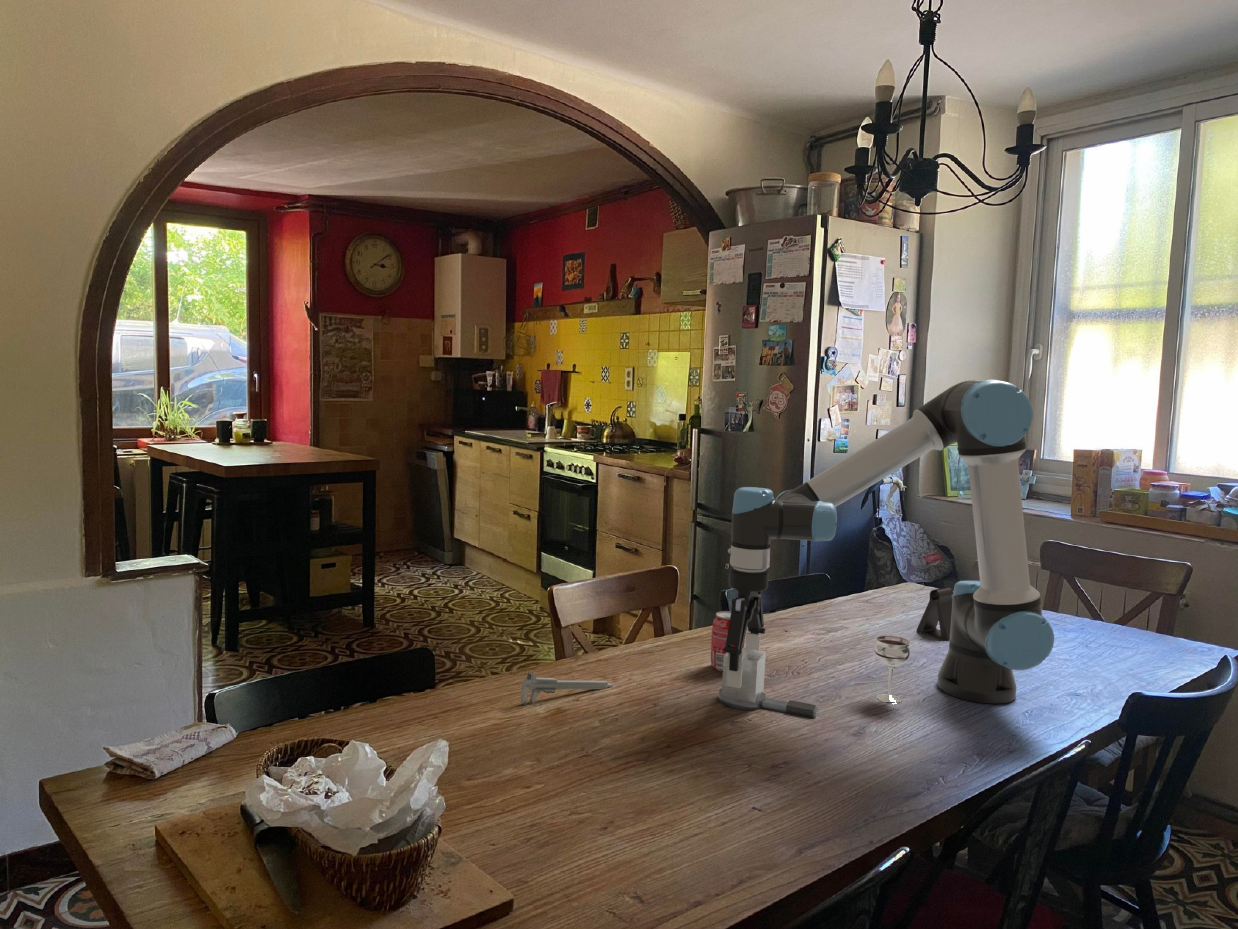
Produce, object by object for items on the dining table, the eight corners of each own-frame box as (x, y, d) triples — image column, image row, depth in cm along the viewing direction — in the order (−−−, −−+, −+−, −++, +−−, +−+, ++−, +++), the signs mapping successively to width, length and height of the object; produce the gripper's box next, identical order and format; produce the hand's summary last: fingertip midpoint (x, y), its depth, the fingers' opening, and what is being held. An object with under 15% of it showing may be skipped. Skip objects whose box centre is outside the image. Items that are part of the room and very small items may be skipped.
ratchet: (820, 707, 162) (823, 674, 161) (812, 724, 153) (814, 689, 153) (725, 689, 169) (727, 658, 168) (712, 704, 161) (714, 671, 160)
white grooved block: (763, 691, 165) (765, 652, 164) (755, 702, 159) (757, 661, 158) (731, 685, 167) (733, 646, 166) (721, 696, 161) (723, 655, 160)
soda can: (741, 664, 185) (744, 611, 184) (743, 675, 178) (746, 620, 177) (709, 662, 186) (712, 609, 184) (710, 672, 179) (713, 618, 177)
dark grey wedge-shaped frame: (916, 631, 216) (919, 586, 215) (929, 628, 220) (933, 583, 218) (947, 641, 209) (951, 594, 208) (961, 637, 212) (964, 591, 211)
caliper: (523, 707, 156) (524, 675, 156) (520, 705, 157) (521, 673, 157) (612, 688, 168) (614, 658, 168) (609, 686, 169) (611, 656, 168)
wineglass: (908, 707, 164) (913, 647, 162) (872, 703, 165) (877, 643, 164) (904, 694, 170) (908, 637, 169) (869, 691, 172) (873, 634, 170)
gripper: (746, 554, 173) (741, 654, 175) (711, 578, 151) (705, 692, 153) (782, 558, 170) (776, 660, 172) (752, 583, 148) (745, 700, 150)
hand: (743, 675), depth 163 cm, fingers open, 13 cm apart
